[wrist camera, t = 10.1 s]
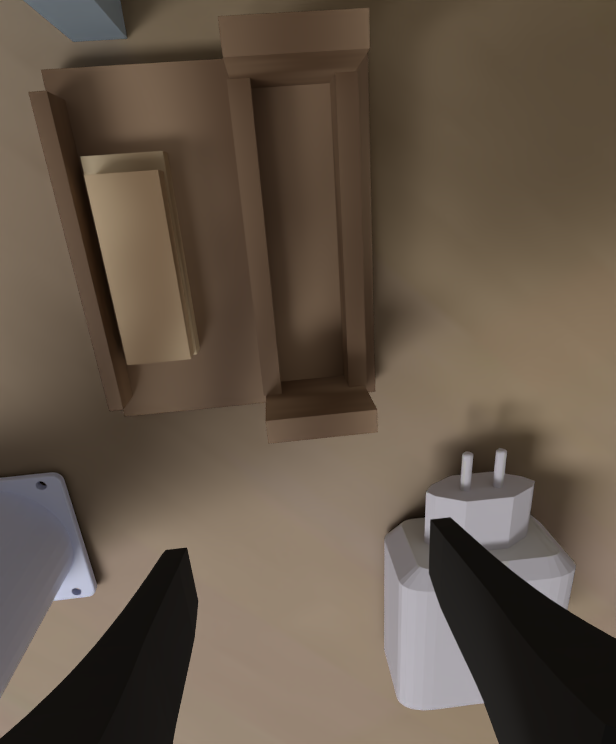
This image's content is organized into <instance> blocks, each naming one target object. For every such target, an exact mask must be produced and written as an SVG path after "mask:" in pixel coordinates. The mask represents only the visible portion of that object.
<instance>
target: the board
mask: <svg viewBox="0 0 616 744" xmlns="http://www.w3.org/2000/svg"><path fill="white" fill-rule="evenodd" d="M24 1H25V2H26V3H27V4H28V5H30V6H31V7H32V8H33V9H34V10H36V11H37V12H38V13H39V14H40V15H42V16H43V17H44V18H45V19H46V20H48V21H49V22H50V23H51V24H52V25H54V26H55V27H56V28H57V29H58V30H60V31H61V32H62V33H63V34H65V35H66V36H67V37H68V38H69V39H71V40H72V41H73V42H78V41H95V40H112V39H127V35H126V29H125V24H124V18H123V13H122V7H121V2H120V0H24Z"/></svg>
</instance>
